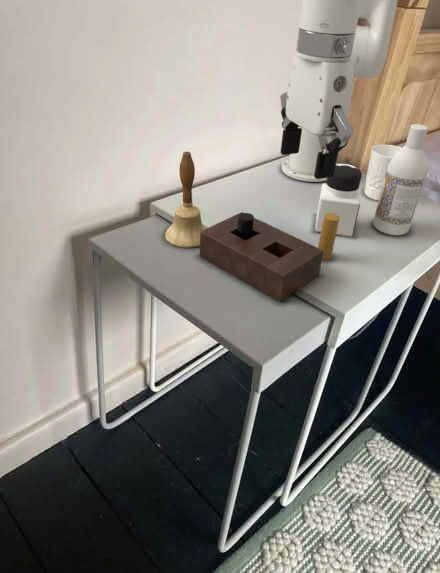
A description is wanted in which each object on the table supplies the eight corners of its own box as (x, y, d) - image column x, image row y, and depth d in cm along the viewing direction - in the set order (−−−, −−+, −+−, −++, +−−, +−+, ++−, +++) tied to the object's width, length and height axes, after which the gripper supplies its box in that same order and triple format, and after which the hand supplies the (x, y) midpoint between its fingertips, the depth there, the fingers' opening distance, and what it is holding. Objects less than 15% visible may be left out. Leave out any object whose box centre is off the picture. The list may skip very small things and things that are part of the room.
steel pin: (253, 257, 87) (257, 216, 82) (243, 262, 85) (247, 221, 80) (241, 251, 88) (245, 211, 83) (232, 256, 86) (235, 215, 82)
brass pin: (321, 251, 89) (329, 211, 85) (333, 256, 88) (342, 216, 83) (313, 256, 88) (321, 216, 83) (325, 262, 86) (334, 221, 82)
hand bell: (183, 253, 87) (184, 166, 77) (155, 233, 91) (153, 150, 82) (219, 238, 91) (223, 155, 82) (190, 220, 96) (192, 140, 87)
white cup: (354, 194, 110) (364, 150, 104) (371, 184, 114) (382, 141, 108) (387, 206, 105) (400, 161, 100) (403, 195, 110) (416, 151, 104)
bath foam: (377, 215, 102) (403, 117, 90) (411, 225, 99) (443, 125, 87) (368, 229, 97) (394, 127, 85) (404, 240, 94) (436, 136, 82)
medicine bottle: (352, 237, 94) (366, 178, 87) (314, 232, 95) (325, 173, 88) (352, 219, 100) (365, 163, 93) (316, 215, 101) (326, 158, 93)
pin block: (199, 256, 86) (200, 231, 83) (239, 235, 92) (241, 211, 89) (279, 302, 77) (284, 276, 74) (318, 275, 83) (324, 250, 80)
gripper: (388, 57, 62) (359, 184, 72) (312, 32, 75) (296, 143, 85) (340, 60, 60) (316, 191, 70) (269, 33, 72) (258, 148, 82)
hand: (305, 164), depth 77 cm, fingers open, 9 cm apart
